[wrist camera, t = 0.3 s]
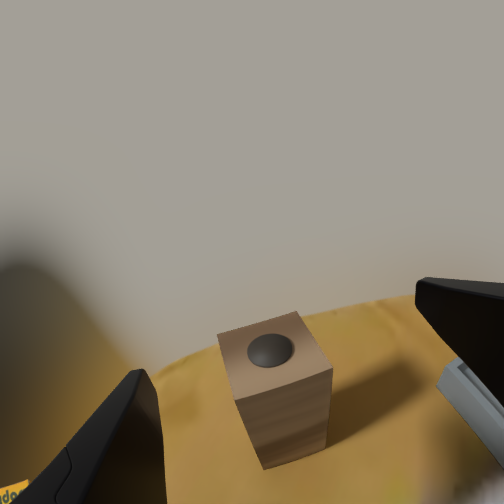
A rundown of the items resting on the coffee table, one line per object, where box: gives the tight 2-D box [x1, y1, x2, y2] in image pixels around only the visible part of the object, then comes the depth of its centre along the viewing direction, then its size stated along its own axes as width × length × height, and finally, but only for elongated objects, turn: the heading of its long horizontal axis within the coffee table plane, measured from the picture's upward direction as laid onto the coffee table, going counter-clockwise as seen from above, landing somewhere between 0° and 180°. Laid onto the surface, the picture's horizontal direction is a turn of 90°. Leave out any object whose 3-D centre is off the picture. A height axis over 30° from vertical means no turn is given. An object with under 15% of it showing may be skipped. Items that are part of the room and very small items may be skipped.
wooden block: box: [217, 311, 333, 470], centre depth 17 cm, size 5×5×11 cm
